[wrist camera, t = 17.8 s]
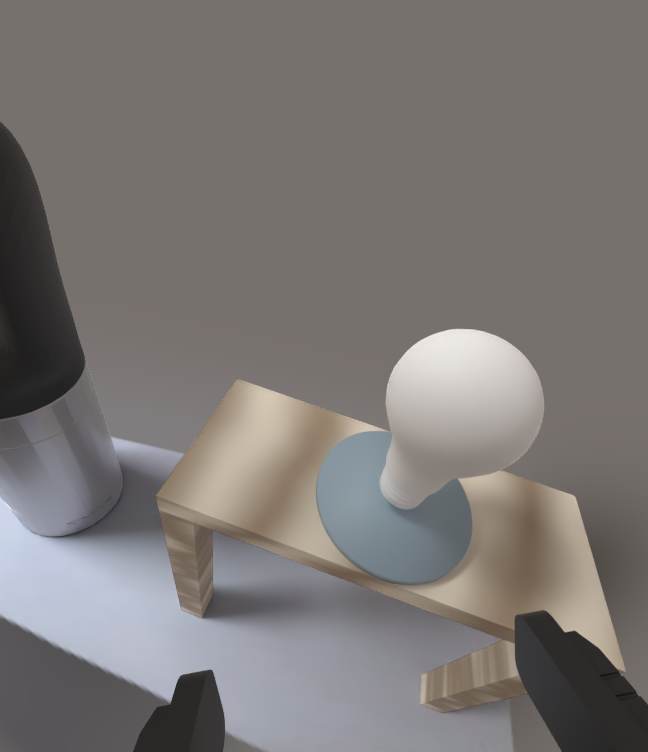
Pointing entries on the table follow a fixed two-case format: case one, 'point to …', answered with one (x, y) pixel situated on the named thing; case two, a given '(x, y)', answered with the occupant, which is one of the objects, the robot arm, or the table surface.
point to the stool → (384, 533)
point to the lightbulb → (457, 413)
